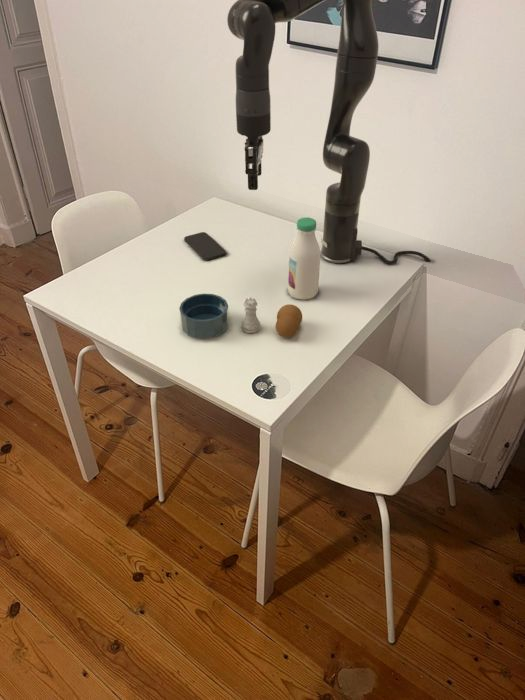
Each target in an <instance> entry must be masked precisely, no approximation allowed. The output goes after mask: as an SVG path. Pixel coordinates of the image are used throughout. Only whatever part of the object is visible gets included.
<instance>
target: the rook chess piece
mask: <svg viewBox="0 0 525 700" xmlns="http://www.w3.org/2000/svg"><path fill="white" fill-rule="evenodd" d="M258 304H259V303H258V302H257V299H256V298H254V297H253V298H252V297H249V298H248V297H246V298H245V300H244V302H243V307H244V312H245V313H244V314H245V315H244V318H243V320H242V322H241V329H242V331H243V332H244V333H247V334H256V333H257V332H259V330H260V329H261V321H260V320H259V318H258V316H257V306H258Z"/></svg>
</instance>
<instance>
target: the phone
mask: <svg viewBox="0 0 525 700" xmlns="http://www.w3.org/2000/svg"><path fill="white" fill-rule="evenodd" d="M183 241H184V242H185V243H186V244H187V245H188V246H189V247H190V248H191V249H192V250H193V251H194V252H195V253H196V254H197V255H198V256H199V257H200V258H201V259H202V260H203V261H211V260H213V259H217V258H221V257H224V256H226V255H227V250H225V248H223V247H222V246H221V245H220V244H219V243H218V242H217V241H216V240H215V239H214V238H213V237H211V236H210V235H209V234H208V233H207V232H205V231H202V232H197V233H193V234H190V235H187V236H184V237H183Z"/></svg>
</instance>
